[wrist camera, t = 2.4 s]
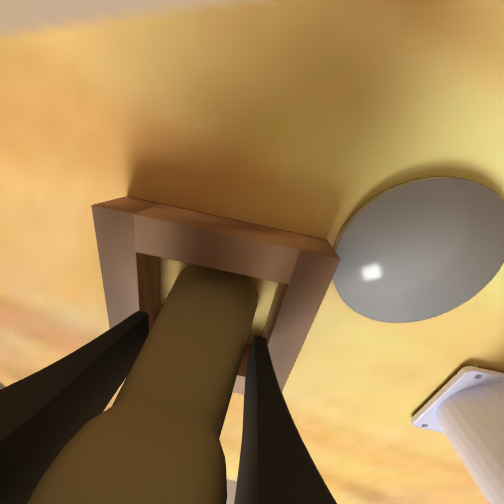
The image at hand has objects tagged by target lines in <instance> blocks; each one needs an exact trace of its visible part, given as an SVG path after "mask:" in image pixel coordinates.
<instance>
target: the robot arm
mask: <svg viewBox="0 0 504 504" xmlns="http://www.w3.org/2000/svg"><path fill="white" fill-rule="evenodd" d="M148 334H149V313H145V312H141V311H137V312H135V313H133V314H132V315H130V316H129V317H127V318H126V319H124V320H123V321H122V322H120V323H119V324H117V325H116V326H114V327H113V328H111V329H110V330H108V331H106V332H105V333H103V334H102V335H100V336H99V337H97V338H96V339H94V340H93V341H91V342H89V343H88V344H86V345H84V346H83V347H81V348H79V349H78V350H76V351H74V352H73V353H71V354H69V355H68V356H66V357H64V358H62V359H60V360H59V361H57V362H55V363H53V364H51V365H49V366H48V367H46V368H44V369H42V370H40V371H38V372H36V373H34V374H32V375H30V376H28V377H26V378H24V379H22V380H20V381H18V382H15V383H13V384H11V385H9V386H7V387H5V388H3V389H1V390H0V504H27V503H28V501H29V499H30V497H31V495H32V493H33V491H34V489H35V487H36V486H37V484H38V482H39V481H40V479H41V478H42V476H43V475H44V473H45V472H46V471H47V469H48V468H49V467H50V465H51V464H52V462H53V461H54V460H55V458H56V457H57V456H58V454H59V453H60V452H61V450H62V449H63V447H64V446H65V445H66V444H67V443H68V442H69V441H70V440H71V439H72V438H73V437H74V435H75V434H76V433H77V432H78V431H79V430H80V429H81V428H82V427H83V426H84V425H85V424H86V423H87V422H88V421H90V420H91V419H93V418H95V417H96V416H98V415H99V414H101V413H102V412H103V411H104V409H105V408H106V406H107V405H108V403H109V402H110V400H111V399H112V397H113V396H114V394H115V393H116V391H117V390H118V388H119V387H120V386H121V384H122V383H123V381H124V380H125V378H126V377H127V375H128V374H129V372H130V370H131V368H132V366H133V364H134V362H135V360H136V358H137V356H138V354H139V352H140V350H141V348H142V346H143V344H144V342H145V340H146V338H147V336H148ZM411 423H412V425H413V426H415V427H418V428H423V429H428V430H433V431H437V432H442V433H444V434H445V436H446V437H447V439H448V440H449V442H450V444H451V445H452V447H453V448H454V450H455V451H456V453H457V454H458V456H459V458H460V459H461V461H462V462H463V464H464V465H465V467H466V469H467V470H468V472H469V473H470V475H471V476H472V478H473V479H474V481H475V483H476V484H477V486H478V487H479V489H480V490H481V492H482V494H483V495H484V497H485V498H486V500H487V501H488V503H489V504H504V373H501V372H497V371H492V370H487V369H482V368H478V367H473V366H466V367H463V368H462V369H461V370H460V371H459V372H458V373H457V374H456V375H455V376H454V377H453V378H452V379H451V380H450V381H449V382H448V383H447V384H445V385H444V386H443V387H442V388H441V389H440V390H439V391H438V392H437V393H436V394H435V395H434V396H433V397H432V398H431V399H430V400H429V401H428V402H427V403H426V404H425V405H424V406H423V407H422V408H421V409H420V410H419V411H418V412H417V413H416V414H415V415H414V416H413V417H412V418H411ZM234 504H337V503H336V501H335V500H334V498H333V496H332V494H331V493H330V491H329V489H328V488H327V486H326V484H325V482H324V480H323V479H322V477H321V475H320V473H319V471H318V470H317V468H316V466H315V464H314V462H313V460H312V458H311V456H310V454H309V452H308V450H307V448H306V447H305V445H304V443H303V441H302V439H301V437H300V434H299V432H298V430H297V428H296V426H295V424H294V421H293V419H292V417H291V415H290V412H289V410H288V407H287V405H286V402H285V400H284V397H283V394H282V392H281V389H280V386H279V383H278V380H277V377H276V374H275V371H274V368H273V364H272V361H271V357H270V353H269V348H268V343H267V339H266V338H265V337H260V336H254V340H253V343H252V347H251V350H250V354H249V357H248V362H247V369H246V376H245V391H244V413H243V433H242V444H241V453H240V462H239V470H238V478H237V487H236V495H235V503H234Z"/></svg>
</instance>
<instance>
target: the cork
mask: <svg viewBox="0 0 504 504" xmlns="http://www.w3.org/2000/svg"><path fill="white" fill-rule="evenodd" d="M256 308H257V294H256V291H255V288H254V286H253V284H252V282H251V281H250V280H249V279H248V278H247V276H246V275H241V274H237V273H232V272H227V271H222V270H218V269H213V268H208V267H204V266H199V265H194V264H192V265H191V266H189V267H188V268H186V269H185V270H183V271H182V272H181V273H180V275H179V276H178V278H177V279H176V281H175V283H174V285H173V287H172V289H171V291H170V293H169V295H168V297H167V299H166V301H165V303H164V305H163V307H162V309H161V311H160V313H159V314H158V316H157V318H156V320H155V322H154V324H153V326H152V328H151V330H150V332H149V334H148V336H147V338H146V340H145V342H144V344H143V346H142V348H141V350H140V352H139V354H138V356H137V358H136V360H135V362H134V364H133V366H132V368H131V370H130V372H129V374H128V376H127V378H126V380H125V381H124V383H123V385H122V387H121V389H120V391H119V393H118V395H117V397H116V399H115V401H114V403H113V405H112V407H111V408H109V409H107V410H106V411H104V412H103V413H101V414H99V415H98V416H96V417H95V418H93V419H91V420H90V421H88V422H87V423H86V424H85V425H84V426H83V427H82V428H81V429H80V430H79V431H78V432H77V433H76V434H75V435H74V437H73V438H72V439H71V440H70V441H69V442H68V443H67V444H66V445H65V446H64V447H63V449H62V450H61V452H60V453H59V454H58V456H57V457H56V458H55V460H54V461H53V462H52V464H51V465H50V467H49V468H48V469H47V471H46V472H45V473H44V475H43V476H42V478H41V479H40V481H39V482H38V484H37V486H36V487H35V489H34V491H33V493H32V495H31V497H30V499H29V501H28V503H27V504H226V500H227V481H226V463H225V456H224V453H223V450H222V447H221V444H220V440H219V437H220V434H221V430H222V427H223V423H224V420H225V416H226V413H227V409H228V406H229V402H230V399H231V395H232V392H233V388H234V385H235V381H236V378H237V374H238V371H239V367H240V364H241V360H242V357H243V353H244V350H245V346H246V343H247V339H248V336H249V332H250V329H251V325H252V322H253V318H254V315H255V311H256Z"/></svg>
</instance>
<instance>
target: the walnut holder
mask: <svg viewBox="0 0 504 504" xmlns="http://www.w3.org/2000/svg"><path fill="white" fill-rule="evenodd" d="M92 212H93V219H94V226H95V232H96V239H97V246H98V252H99V259H100V266H101V272H102V279H103V286H104V292H105V299H106V306H107V312H108V319H109V326H110V329H111V328H113V327H114V326H116V325H117V324H119V323H120V322H122V321H123V320H124V319H126V318H127V317H129V316H130V315H132V314H133V313H135V312H137V311H141V312H145V313H149V332H150V330H151V328H152V326H153V324H154V322H155V320H156V318H157V316H158V314H159V313H160V257H162V258H166V259H171V260H176V261H180V262H185V263H190V264H194V265H199V266H204V267H208V268H213V269H218V270H222V271H227V272H232V273H237V274H241V275H246V276H251V277H255V278H260V279H265V280H269V281H274V282H279V283H278V286H277V289H276V292H275V296H274V299H273V302H272V305H271V309H270V312H269V315H268V318H267V321H266V325H265V328H264V331H263V334H262V337H265V338H266V339H267V343H268V348H269V353H270V357H271V361H272V364H273V368H274V371H275V374H276V377H277V380H278V383H279V386H280V389H281V392H282V390H283V388H284V386H285V384H286V381H287V379H288V377H289V375H290V372H291V370H292V368H293V366H294V363H295V361H296V359H297V357H298V354H299V352H300V350H301V348H302V345H303V343H304V341H305V339H306V336H307V334H308V332H309V330H310V327H311V325H312V323H313V321H314V318H315V316H316V314H317V312H318V309H319V307H320V305H321V302H322V300H323V298H324V296H325V293H326V291H327V289H328V287H329V284H330V282H331V280H332V278H333V275H334V273H335V271H336V269H337V266H338V264H339V262H340V260H341V259H340V257H339V256H338V255H337V253H336V252H335V250H334V249H333V248H332V246H331V245H330V244H329V242H328V241H327V240H325V239H320V238H315V237H311V236H306V235H302V234H297V233H292V232H288V231H283V230H279V229H274V228H269V227H265V226H260V225H256V224H251V223H246V222H242V221H237V220H233V219H228V218H223V217H219V216H214V215H209V214H205V213H200V212H196V211H191V210H186V209H182V208H177V207H173V206H168V205H163V204H159V203H154V202H150V201H145V200H140V199H136V198H131V197H127V196H126V197H122V198H118V199H114V200H110V201H106V202H102V203H98V204H94V205H92ZM250 350H251V347H250V346H245V350H244V353H243V357H242V360H241V364H240V367H239V371H238V374H237V378H236V381H235V385H234V388H233V392H234V393H239V394H243V395H244V391H245V376H246V369H247V362H248V357H249V354H250Z"/></svg>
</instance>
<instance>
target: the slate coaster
mask: <svg viewBox="0 0 504 504" xmlns="http://www.w3.org/2000/svg"><path fill="white" fill-rule="evenodd" d="M333 249H334V250H335V252H336V253H337V255H338V256H339V257H340V259H341V260H340V262H339V264H338V266H337V269H336V271H335V273H334V275H333V278H332V280H333V283H334V285H335V288H336V290H337V292H338V293H339V295H340V297H341V298H342V300H343V301H344V302H345V303H346V304H347V305H348V306H349V307H350V308H351V309H352V310H354V311H355V312H357V313H359V314H360V315H362V316H364V317H367V318H369V319H373V320H376V321H381V322H387V323H408V322H416V321H421V320H425V319H429V318H432V317H436V316H438V315H441V314H444V313H446V312H448V311H450V310H452V309H454V308H456V307H458V306H460V305H462V304H463V303H465V302H467V301H468V300H469V299H471V298H472V297H473V296H475V295H476V294H477V293H478V292H480V291H481V290H482V289H483V288H484V287H485V286H486V285H487V284H488V283H489V282H490V281H491V280H492V279H493V278H494V276H495V275H496V274H497V272H498V271H499V270H500V268H501V266H502V265H503V263H504V201H503V200H502V199H501V198H500V197H499V196H498V195H497V194H496V193H495V192H493V191H492V190H491V189H490V188H488V187H486V186H484V185H482V184H480V183H477V182H473V181H470V180H465V179H459V178H450V177H428V178H420V179H416V180H412V181H407V182H404V183H402V184H399V185H396V186H394V187H392V188H390V189H387V190H385V191H383V192H382V193H380V194H378V195H377V196H375V197H373V198H372V199H371V200H369V201H368V202H367V203H365V204H364V205H363V206H362V207H360V208H359V209H358V210H357V211H356V212H355V213H354V214H353V215H352V216H351V218H350V219H349V220H348V221H347V222H346V224H345V225H344V227H343V228H342V230H341V231H340V233H339V235H338V237H337V239H336V241H335V244H334V247H333Z"/></svg>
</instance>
